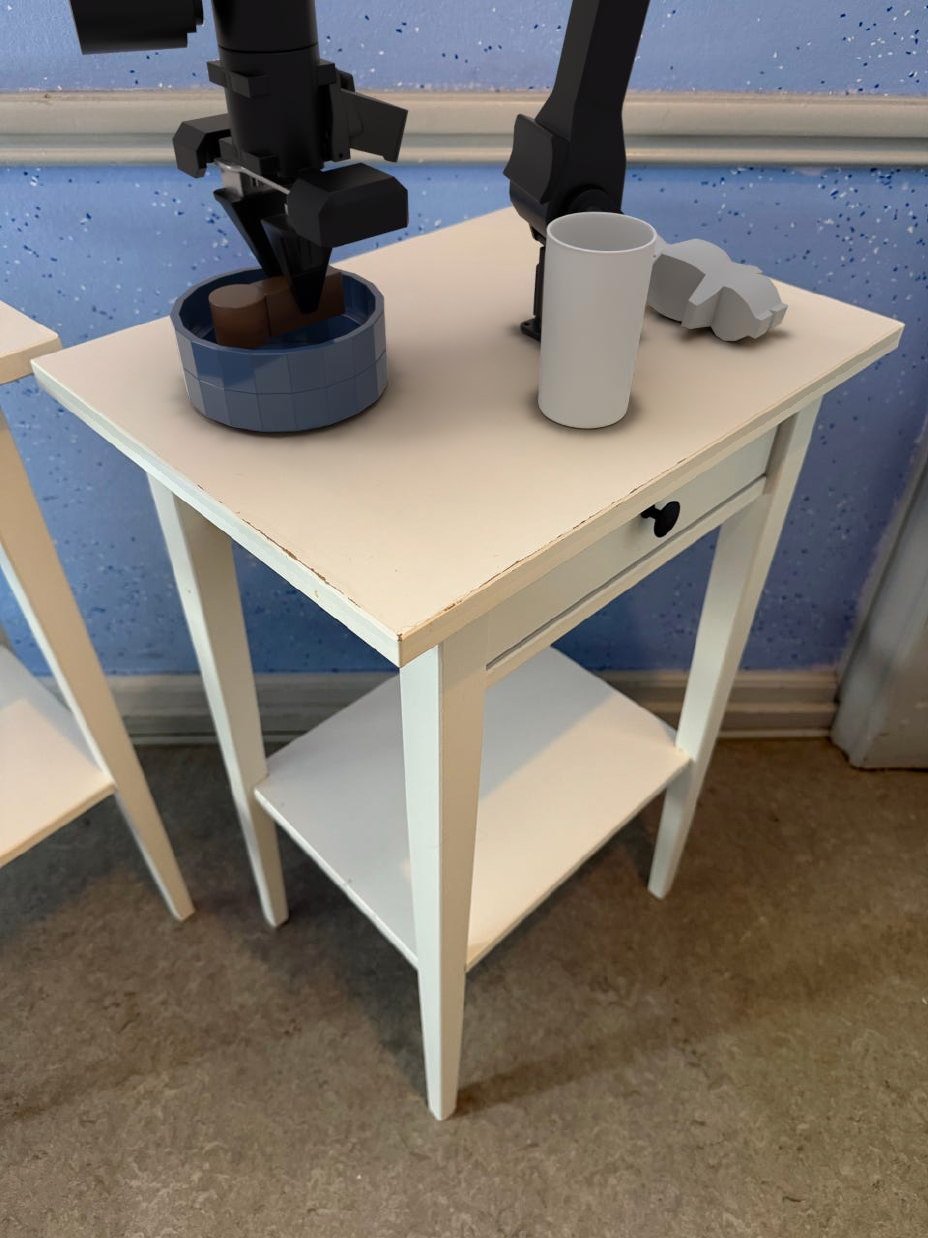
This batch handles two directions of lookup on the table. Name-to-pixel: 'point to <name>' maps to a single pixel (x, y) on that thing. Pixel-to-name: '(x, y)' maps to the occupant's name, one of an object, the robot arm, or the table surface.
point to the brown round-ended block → (269, 310)
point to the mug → (592, 315)
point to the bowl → (284, 361)
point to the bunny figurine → (712, 290)
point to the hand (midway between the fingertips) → (299, 306)
